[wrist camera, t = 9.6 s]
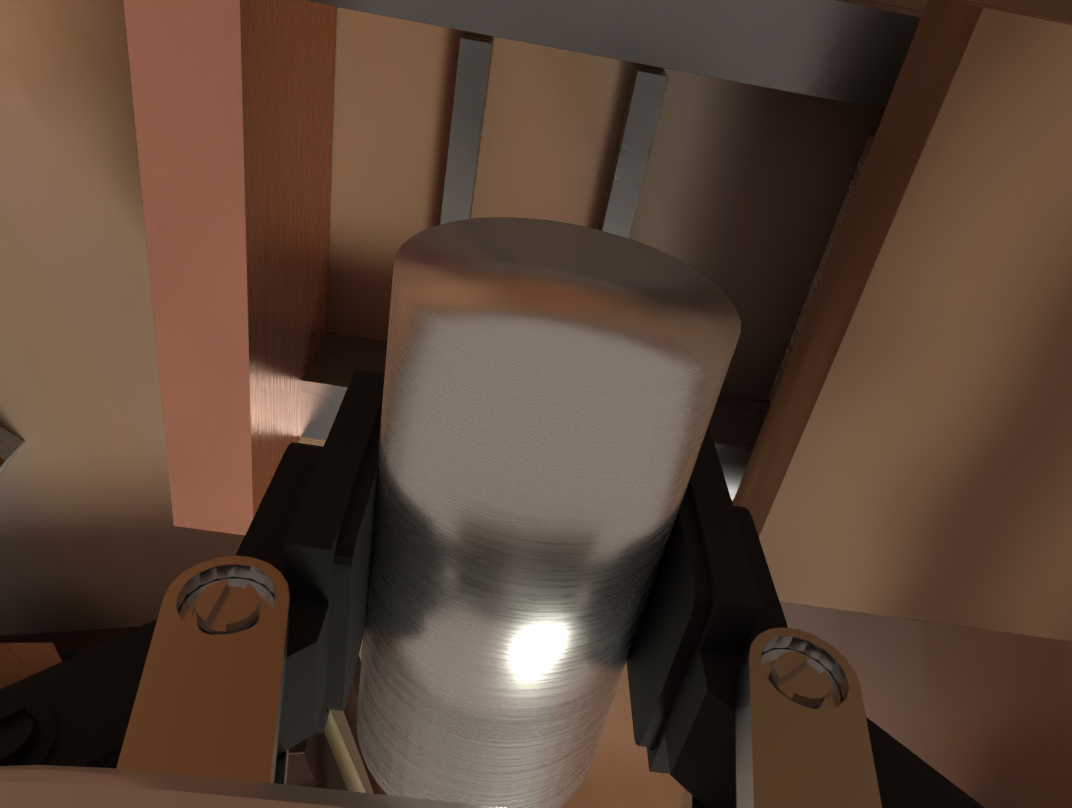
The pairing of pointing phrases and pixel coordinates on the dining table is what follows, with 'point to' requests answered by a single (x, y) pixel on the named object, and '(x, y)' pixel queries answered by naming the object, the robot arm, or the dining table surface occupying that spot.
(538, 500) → the roller
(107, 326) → the dining table surface
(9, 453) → the white tower
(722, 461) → the track
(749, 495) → the slab
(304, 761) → the decorative book
